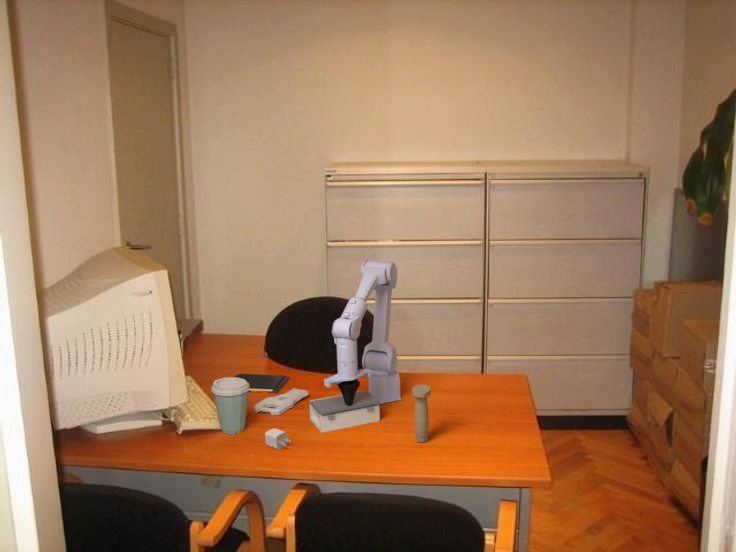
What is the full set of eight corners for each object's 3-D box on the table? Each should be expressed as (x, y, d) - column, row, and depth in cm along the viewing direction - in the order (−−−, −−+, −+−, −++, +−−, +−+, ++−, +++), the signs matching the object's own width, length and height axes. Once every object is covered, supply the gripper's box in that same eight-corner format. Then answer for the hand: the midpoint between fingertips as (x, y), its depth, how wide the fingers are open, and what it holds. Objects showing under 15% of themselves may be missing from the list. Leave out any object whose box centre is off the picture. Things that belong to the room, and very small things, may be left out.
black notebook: (291, 373, 246) (276, 390, 231) (291, 379, 246) (276, 396, 232) (236, 371, 250) (218, 387, 235) (236, 376, 250) (219, 392, 236)
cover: (365, 392, 216) (365, 389, 216) (380, 404, 207) (379, 400, 207) (309, 403, 210) (309, 400, 209) (321, 415, 200) (321, 412, 200)
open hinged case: (366, 408, 218) (365, 393, 217) (380, 421, 208) (380, 405, 207) (310, 419, 211) (309, 403, 210) (322, 433, 201) (321, 417, 200)
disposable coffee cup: (238, 419, 213) (235, 371, 209) (260, 429, 205) (257, 380, 202) (207, 430, 205) (203, 381, 202) (228, 441, 198) (225, 390, 195)
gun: (285, 382, 232) (310, 388, 227) (286, 392, 233) (311, 398, 228) (249, 405, 217) (275, 411, 212) (250, 415, 218) (276, 422, 213)
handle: (410, 444, 193) (409, 392, 190) (415, 434, 199) (415, 384, 196) (427, 446, 192) (427, 394, 188) (432, 436, 197) (432, 385, 194)
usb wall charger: (276, 440, 198) (275, 427, 197) (294, 447, 194) (293, 433, 193) (265, 446, 195) (264, 432, 194) (283, 452, 191) (282, 438, 190)
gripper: (360, 351, 209) (362, 394, 212) (317, 361, 201) (319, 406, 204) (374, 357, 203) (375, 402, 206) (330, 368, 195) (332, 414, 198)
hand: (348, 404), depth 205 cm, fingers closed, pressing on cover
